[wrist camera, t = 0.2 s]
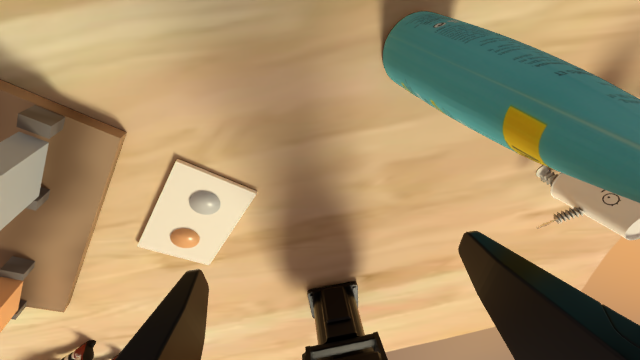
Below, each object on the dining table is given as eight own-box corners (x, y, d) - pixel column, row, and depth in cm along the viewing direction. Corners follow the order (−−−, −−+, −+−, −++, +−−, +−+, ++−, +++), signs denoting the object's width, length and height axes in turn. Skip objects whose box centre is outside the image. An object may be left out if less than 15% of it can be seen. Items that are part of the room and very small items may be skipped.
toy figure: (619, 109, 25) (749, 156, 18) (619, 149, 28) (731, 202, 21) (495, 181, 28) (567, 243, 21) (508, 210, 31) (574, 273, 24)
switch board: (126, 132, 20) (110, 147, 18) (69, 303, 30) (55, 325, 28) (-20, 71, 17) (-59, 82, 15) (-30, 287, 27) (-54, 311, 25)
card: (256, 191, 25) (256, 195, 24) (209, 262, 29) (208, 266, 29) (177, 158, 22) (175, 162, 21) (138, 243, 26) (136, 247, 26)
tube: (357, 75, 20) (649, 382, 4) (379, -2, 17) (1261, 99, 2) (444, 92, 22) (868, 355, 6) (476, 24, 19) (1343, 190, 4)
